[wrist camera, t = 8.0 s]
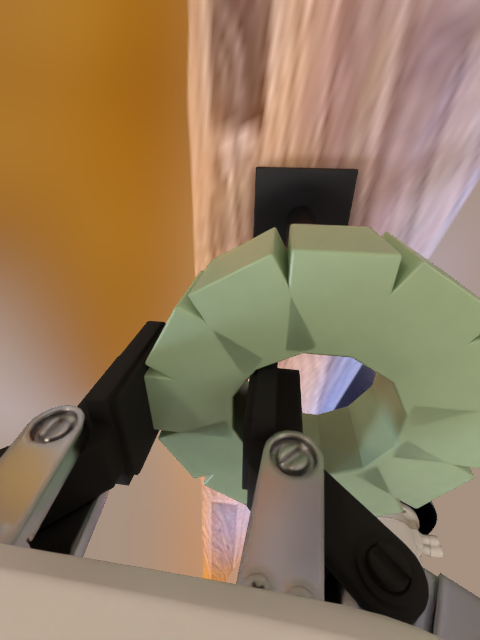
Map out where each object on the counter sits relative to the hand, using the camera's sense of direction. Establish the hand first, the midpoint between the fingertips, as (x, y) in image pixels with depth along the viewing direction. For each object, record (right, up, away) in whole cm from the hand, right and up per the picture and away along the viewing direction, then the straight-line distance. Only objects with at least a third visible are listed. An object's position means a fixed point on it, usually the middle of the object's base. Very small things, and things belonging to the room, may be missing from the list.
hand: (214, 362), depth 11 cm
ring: (+3, 0, 0) cm, 3 cm away
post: (+6, +11, +16) cm, 20 cm away
